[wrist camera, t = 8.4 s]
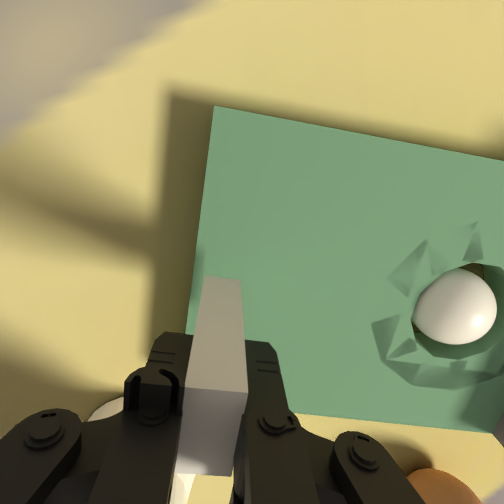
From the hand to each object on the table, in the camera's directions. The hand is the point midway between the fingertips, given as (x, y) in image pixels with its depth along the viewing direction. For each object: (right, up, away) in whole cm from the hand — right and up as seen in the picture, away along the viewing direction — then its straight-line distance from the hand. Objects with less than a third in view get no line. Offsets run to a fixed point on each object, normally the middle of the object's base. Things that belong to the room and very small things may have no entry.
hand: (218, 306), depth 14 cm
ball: (+12, 0, +3) cm, 12 cm away
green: (+8, +1, +5) cm, 10 cm away
